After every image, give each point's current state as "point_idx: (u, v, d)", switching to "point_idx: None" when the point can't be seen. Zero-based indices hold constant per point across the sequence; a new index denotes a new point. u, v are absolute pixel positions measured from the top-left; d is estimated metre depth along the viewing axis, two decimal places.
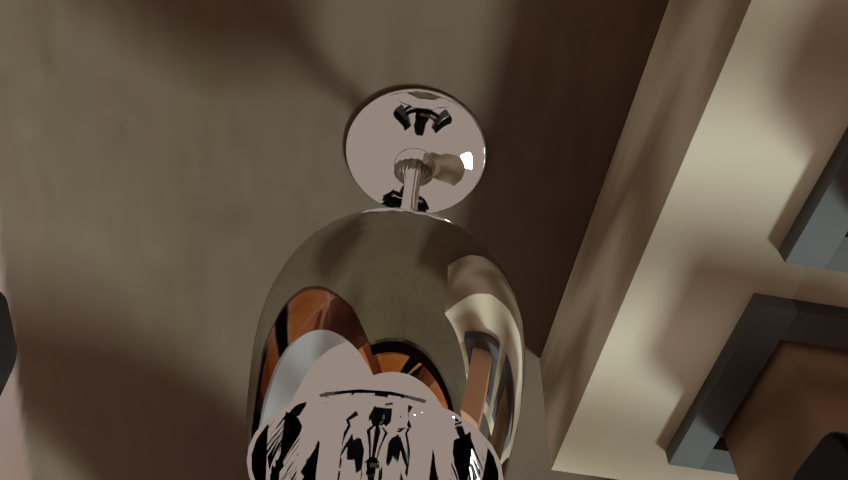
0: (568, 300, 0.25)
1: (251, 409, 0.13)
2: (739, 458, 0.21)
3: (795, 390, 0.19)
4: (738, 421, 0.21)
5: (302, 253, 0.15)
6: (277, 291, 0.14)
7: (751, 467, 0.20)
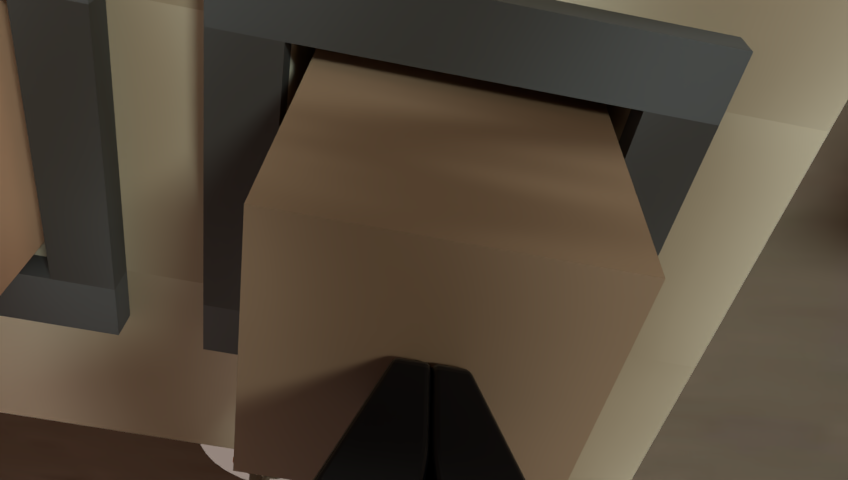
0: None
1: None
2: None
3: None
4: None
5: None
6: None
7: None
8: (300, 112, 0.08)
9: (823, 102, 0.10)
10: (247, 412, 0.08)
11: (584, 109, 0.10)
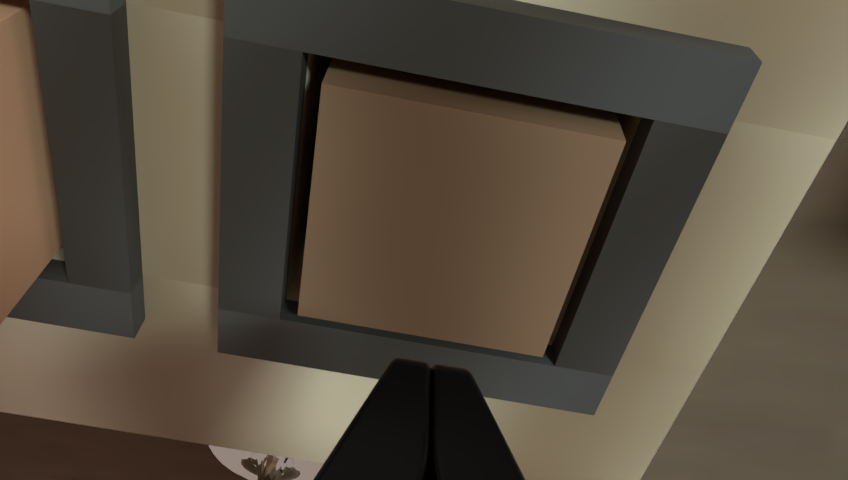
0: None
1: None
2: None
3: None
4: None
5: None
6: None
7: None
8: None
9: (831, 111, 0.10)
10: (312, 261, 0.11)
11: None
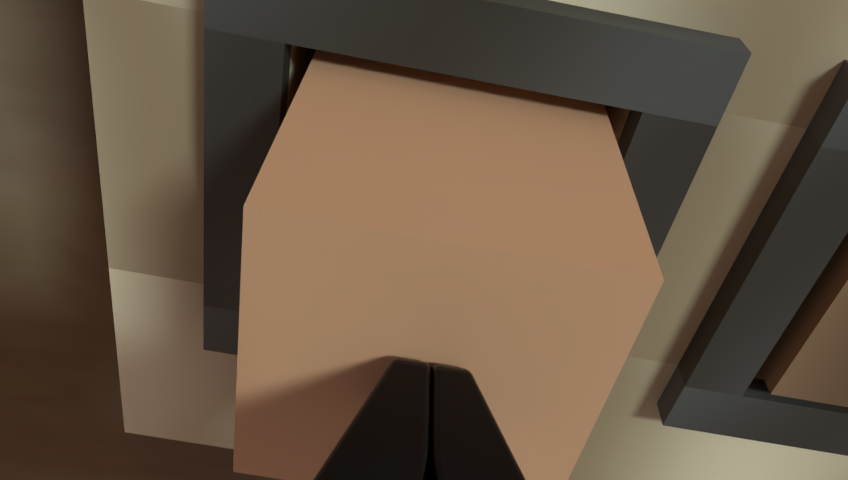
0: None
1: None
2: None
3: None
4: None
5: None
6: None
7: None
8: None
9: None
10: (812, 346, 0.11)
11: None
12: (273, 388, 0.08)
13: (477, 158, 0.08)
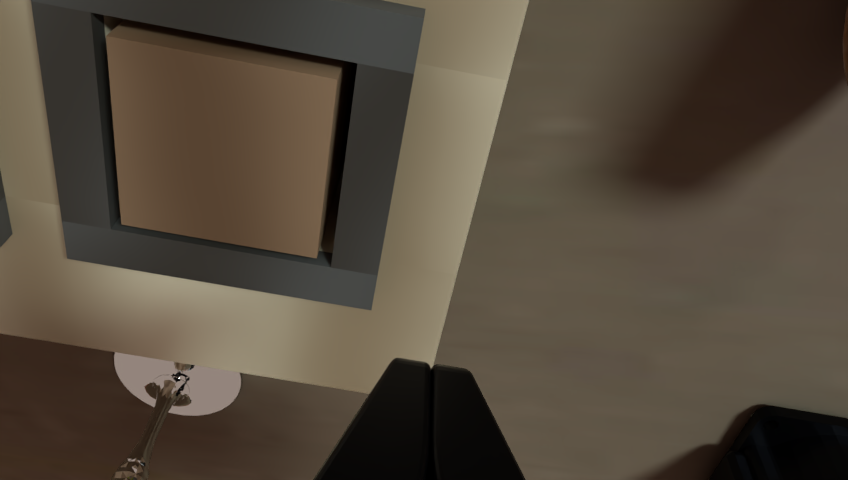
0: None
1: None
2: None
3: None
4: None
5: None
6: None
7: None
8: None
9: (498, 58, 0.13)
10: (124, 178, 0.14)
11: None
12: None
13: None
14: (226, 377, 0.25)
